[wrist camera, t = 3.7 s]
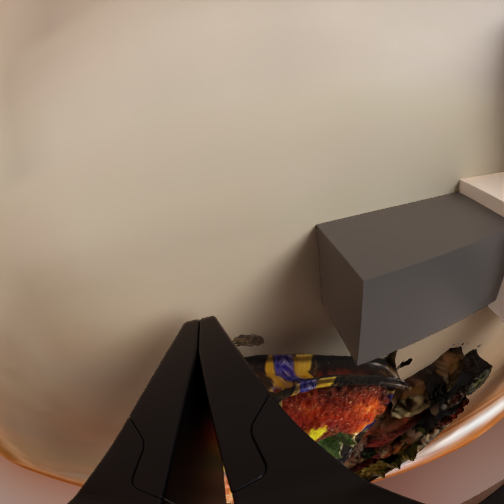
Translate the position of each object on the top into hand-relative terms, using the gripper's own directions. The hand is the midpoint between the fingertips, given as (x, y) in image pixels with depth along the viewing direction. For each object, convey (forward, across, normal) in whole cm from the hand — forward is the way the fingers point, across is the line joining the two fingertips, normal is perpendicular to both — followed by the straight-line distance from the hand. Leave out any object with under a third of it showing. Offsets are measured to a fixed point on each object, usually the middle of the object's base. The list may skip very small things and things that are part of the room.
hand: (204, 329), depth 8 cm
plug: (+2, -9, 0) cm, 9 cm away
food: (+2, -5, +14) cm, 15 cm away
